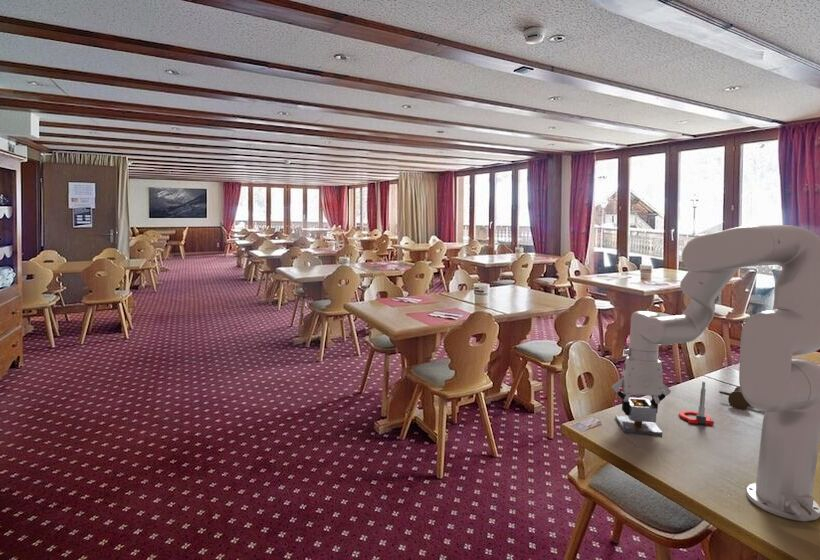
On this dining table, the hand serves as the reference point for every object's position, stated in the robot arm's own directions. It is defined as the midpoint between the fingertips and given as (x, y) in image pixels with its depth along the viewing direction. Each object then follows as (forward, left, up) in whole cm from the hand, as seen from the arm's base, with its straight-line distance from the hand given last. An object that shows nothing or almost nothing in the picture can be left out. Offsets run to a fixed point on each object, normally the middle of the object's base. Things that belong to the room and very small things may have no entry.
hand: (639, 413), depth 139 cm
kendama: (+21, -41, -4) cm, 47 cm away
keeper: (0, 0, -4) cm, 4 cm away
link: (0, 0, -1) cm, 1 cm away
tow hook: (+9, -19, -4) cm, 21 cm away
